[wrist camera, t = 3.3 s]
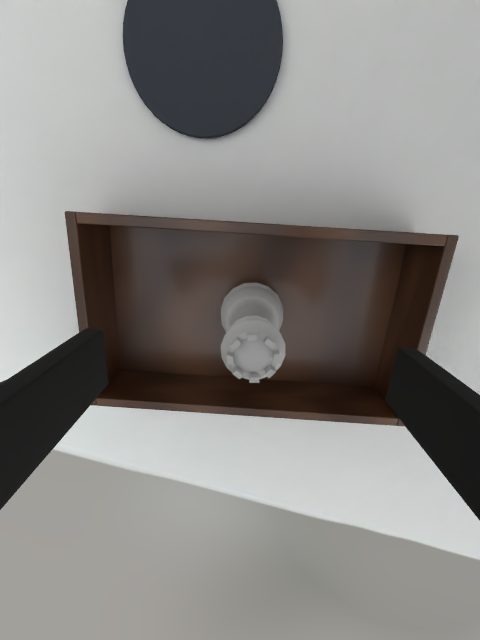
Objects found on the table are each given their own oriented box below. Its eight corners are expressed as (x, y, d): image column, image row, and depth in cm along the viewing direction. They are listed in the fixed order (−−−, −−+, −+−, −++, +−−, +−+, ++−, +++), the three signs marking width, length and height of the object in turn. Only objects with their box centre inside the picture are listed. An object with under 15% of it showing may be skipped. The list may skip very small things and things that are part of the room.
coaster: (301, -31, 16) (303, -37, 15) (259, 154, 18) (259, 153, 18) (135, -80, 15) (132, -87, 15) (117, 117, 18) (114, 115, 18)
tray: (416, 233, 20) (459, 235, 16) (378, 391, 23) (405, 426, 19) (101, 213, 20) (64, 211, 16) (115, 374, 24) (87, 405, 20)
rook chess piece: (245, 350, 22) (243, 415, 15) (208, 305, 21) (186, 349, 14) (294, 317, 21) (319, 368, 14) (258, 268, 20) (264, 294, 13)
